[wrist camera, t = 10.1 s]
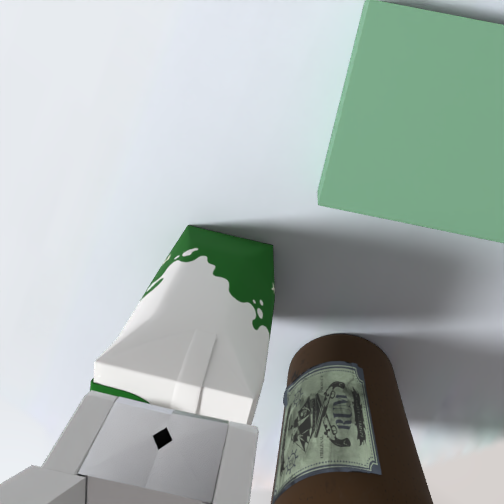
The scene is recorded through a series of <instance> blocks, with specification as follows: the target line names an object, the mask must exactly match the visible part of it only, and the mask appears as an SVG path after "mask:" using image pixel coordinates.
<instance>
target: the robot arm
mask: <svg viewBox="0 0 504 504" xmlns="http://www.w3.org/2000/svg"><path fill="white" fill-rule="evenodd" d="M228 424H229V425H228ZM227 429H228V430H227ZM258 433H259V431H258V428H257V427H256V426H251V425H247V424H242V423H237V422H232V421H230V422H229V421H228V420H223V419H218V418H213V417H209V416H204V415H199V414H194V413H189V412H184V411H180V410H175V409H174V410H172V409H168V408H164V407H160V406H156V405H152V404H148V403H144V402H140V401H136V400H132V399H127V398H123V397H117V396H113V395H109V394H105V393H101V392H97V391H93V390H91V391H90V392H89V393H88V394H86V395H85V396H84V398H83V399H82V401H81V403H80V404H79V406H78V407H77V409H76V411H75V412H74V414H73V416H72V417H71V419H70V421H69V422H68V424H67V425H66V427H65V429H64V430H63V432H62V434H61V435H60V437H59V439H58V440H57V442H56V443H55V445H54V447H53V448H52V450H51V452H50V453H49V455H48V456H47V458H46V460H45V461H44V463H43V465H42V466H41V467H39V466H34V465H31V466H30V467H28V468H26V469H25V470H23V471H21V472H20V473H18V474H16V475H15V476H13V477H11V478H9V479H8V480H6V481H4V482H3V483H1V484H0V504H249V501H250V494H251V487H252V479H253V471H254V464H255V456H256V448H257V441H258ZM223 448H224V449H223ZM222 453H223V454H222ZM221 458H222V459H221Z"/></svg>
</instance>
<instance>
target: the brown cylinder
mask: <svg viewBox="0 0 504 504" xmlns="http://www.w3.org/2000/svg"><path fill="white" fill-rule="evenodd" d="M283 403H284V415H283V422H282V429H281V437H280V444H279V451H278V458H277V465H276V472H275V479H274V486H273V492H272V500H271V504H433V502H432V498H431V495H430V492H429V489H428V486H427V483H426V479H425V476H424V473H423V470H422V467H421V464H420V460H419V457H418V454H417V450H416V447H415V444H414V441H413V437H412V434H411V431H410V427H409V424H408V421H407V418H406V414H405V411H404V407H403V404H402V400H401V397H400V393H399V389H398V386H397V382H396V378H395V375H394V371H393V368H392V365H391V363H390V361H389V359H388V357H387V356H386V354H385V353H384V352H383V351H382V350H381V349H380V348H379V347H378V346H376V345H375V344H373V343H372V342H370V341H368V340H366V339H363V338H360V337H357V336H353V335H346V334H334V335H327V336H323V337H320V338H317V339H315V340H312V341H310V342H309V343H307V344H306V345H304V346H303V347H302V348H301V349H300V350H299V351H298V352H297V353H296V354H295V356H294V357H293V359H292V361H291V364H290V367H289V371H288V379H287V388H286V391H285V393H284V398H283Z"/></svg>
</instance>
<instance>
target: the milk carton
mask: <svg viewBox="0 0 504 504" xmlns="http://www.w3.org/2000/svg"><path fill="white" fill-rule="evenodd" d="M274 301H275V286H274V261H273V245H270V244H266V243H261V242H257V241H253V240H249V239H244V238H240V237H236V236H232V235H228V234H223V233H219V232H215V231H211V230H206V229H202V228H198V227H194V226H190V225H188V226H187V227H186V229H185V230H184V232H183V234H182V235H181V237H180V238H179V240H178V241H177V243H176V244H175V246H174V247H173V249H172V251H171V252H170V254H169V255H168V257H167V258H166V260H165V261H164V263H163V264H162V266H161V268H160V269H159V271H158V272H157V274H156V276H155V277H154V279H153V281H152V282H151V284H150V285H149V287H148V289H147V290H146V292H145V294H144V295H143V297H142V299H141V300H140V302H139V303H138V305H137V307H136V308H135V310H134V312H133V313H132V315H131V316H130V318H129V320H128V321H127V323H126V325H125V326H124V328H123V330H122V331H121V333H120V334H119V336H118V338H117V339H116V340H115V341H114V342H113V343H112V344H111V345H110V346H109V347H108V348H107V349H106V350H105V351H104V352H103V353H102V354H101V355H100V356H99V357H98V358H97V359H96V360H95V363H94V378H93V379H92V380H91V387H90V391H91V390H93V391H97V392H101V393H105V394H109V395H113V396H117V397H123V398H127V399H132V400H136V401H140V402H144V403H148V404H152V405H156V406H160V407H164V408H168V409H172V410H174V409H175V410H180V411H184V412H189V413H194V414H199V415H204V416H209V417H213V418H218V419H223V420H228V421H229V422H230V421H232V422H237V423H242V424H247V425H251V424H252V421H253V417H254V414H255V410H256V407H257V403H258V400H259V396H260V393H261V389H262V386H263V382H264V376H265V370H266V362H267V355H268V348H269V340H270V333H271V325H272V317H273V309H274ZM228 425H229V424H228ZM227 430H228V429H227ZM223 449H224V448H223ZM222 454H223V453H222ZM221 459H222V458H221Z"/></svg>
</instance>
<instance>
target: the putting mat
mask: <svg viewBox="0 0 504 504" xmlns="http://www.w3.org/2000/svg"><path fill="white" fill-rule="evenodd" d="M318 205H320V206H325V207H330V208H335V209H339V210H344V211H349V212H354V213H359V214H364V215H369V216H374V217H378V218H383V219H388V220H393V221H398V222H403V223H408V224H413V225H418V226H422V227H427V228H432V229H437V230H442V231H447V232H452V233H457V234H461V235H466V236H471V237H476V238H481V239H486V240H491V241H496V242H500V243H504V25H502V24H497V23H491V22H486V21H481V20H476V19H471V18H466V17H460V16H455V15H450V14H445V13H440V12H435V11H429V10H424V9H419V8H414V7H409V6H404V5H398V4H393V3H388V2H383V1H378V0H366V1H365V3H364V7H363V11H362V15H361V19H360V23H359V27H358V31H357V35H356V39H355V43H354V47H353V51H352V55H351V59H350V63H349V67H348V71H347V75H346V79H345V83H344V87H343V91H342V95H341V99H340V103H339V107H338V111H337V115H336V119H335V123H334V127H333V131H332V135H331V139H330V143H329V147H328V151H327V155H326V159H325V164H324V168H323V172H322V176H321V180H320V184H319V188H318Z"/></svg>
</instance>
